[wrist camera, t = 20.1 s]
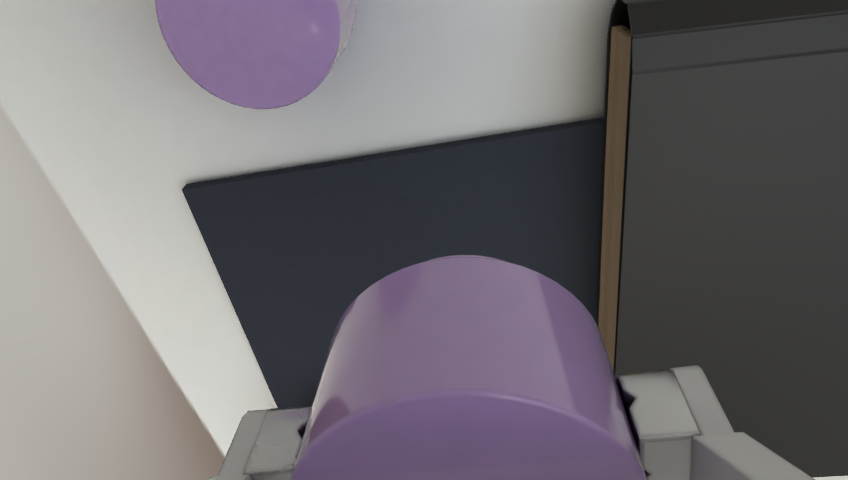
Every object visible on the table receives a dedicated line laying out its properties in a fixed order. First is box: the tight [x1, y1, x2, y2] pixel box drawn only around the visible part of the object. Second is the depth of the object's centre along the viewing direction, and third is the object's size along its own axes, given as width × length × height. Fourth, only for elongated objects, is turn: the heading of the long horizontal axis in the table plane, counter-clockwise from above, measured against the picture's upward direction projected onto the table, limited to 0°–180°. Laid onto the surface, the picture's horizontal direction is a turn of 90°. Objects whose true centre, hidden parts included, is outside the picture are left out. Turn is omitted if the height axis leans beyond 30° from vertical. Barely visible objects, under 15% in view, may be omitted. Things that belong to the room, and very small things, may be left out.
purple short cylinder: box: [155, 0, 355, 109], centre depth 21 cm, size 6×6×5 cm
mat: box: [182, 118, 604, 408], centre depth 32 cm, size 20×26×1 cm
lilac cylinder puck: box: [291, 255, 647, 480], centre depth 12 cm, size 6×6×5 cm
